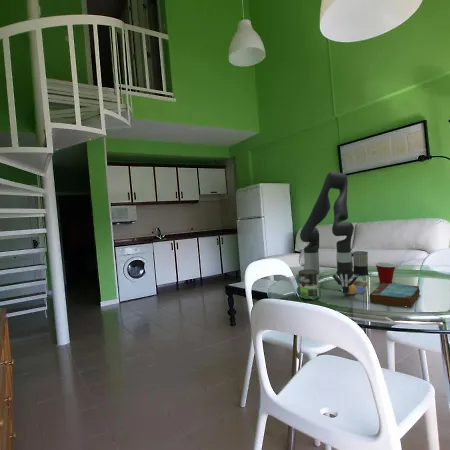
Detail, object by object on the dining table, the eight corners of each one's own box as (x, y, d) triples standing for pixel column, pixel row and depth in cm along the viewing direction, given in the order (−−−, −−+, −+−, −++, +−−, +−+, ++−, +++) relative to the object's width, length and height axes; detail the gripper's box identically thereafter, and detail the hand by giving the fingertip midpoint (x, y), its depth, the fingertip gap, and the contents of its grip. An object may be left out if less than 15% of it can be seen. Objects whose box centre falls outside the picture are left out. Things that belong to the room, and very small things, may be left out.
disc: (335, 292, 179) (335, 291, 179) (343, 285, 190) (343, 285, 190) (362, 294, 171) (362, 294, 171) (368, 288, 182) (368, 287, 182)
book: (382, 291, 176) (382, 282, 176) (420, 295, 165) (419, 286, 164) (370, 303, 159) (369, 293, 158) (410, 309, 147) (410, 298, 147)
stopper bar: (348, 284, 192) (348, 280, 191) (349, 283, 193) (349, 279, 193) (366, 286, 186) (366, 282, 186) (367, 285, 187) (366, 281, 187)
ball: (343, 282, 172) (347, 280, 177) (341, 293, 173) (345, 291, 178) (354, 286, 168) (358, 284, 173) (352, 297, 169) (356, 295, 174)
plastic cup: (399, 286, 180) (398, 265, 180) (378, 287, 183) (377, 266, 182) (393, 281, 191) (392, 261, 190) (373, 282, 193) (373, 262, 192)
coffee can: (311, 301, 166) (310, 274, 165) (295, 297, 174) (294, 271, 173) (323, 296, 172) (322, 270, 171) (308, 293, 181) (306, 268, 180)
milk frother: (370, 273, 214) (369, 251, 213) (362, 279, 202) (361, 255, 201) (349, 271, 223) (348, 250, 222) (340, 276, 211) (339, 254, 210)
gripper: (359, 259, 168) (360, 292, 169) (333, 258, 176) (335, 290, 177) (355, 262, 162) (357, 296, 163) (329, 261, 170) (330, 293, 171)
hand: (345, 293), depth 170 cm, fingers closed
